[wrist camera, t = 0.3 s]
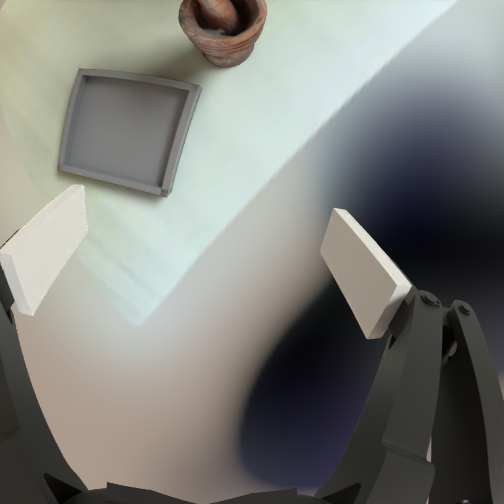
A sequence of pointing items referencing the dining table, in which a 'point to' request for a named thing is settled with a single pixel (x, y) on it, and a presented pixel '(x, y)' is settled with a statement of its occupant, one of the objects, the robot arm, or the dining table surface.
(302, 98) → the dining table surface
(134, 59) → the dining table surface
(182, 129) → the tray
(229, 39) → the mortar and pestle
